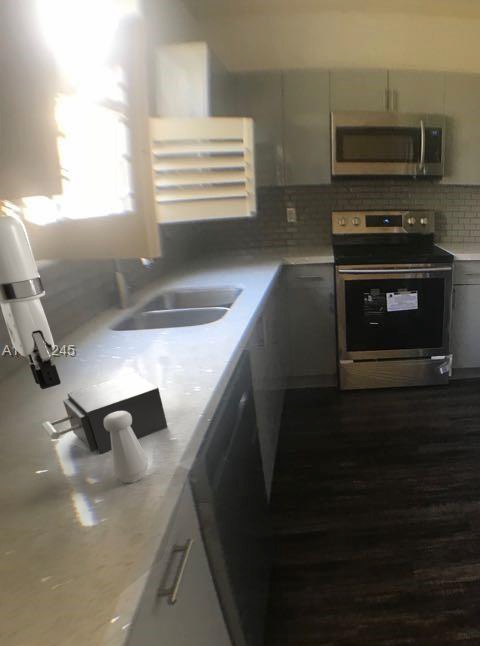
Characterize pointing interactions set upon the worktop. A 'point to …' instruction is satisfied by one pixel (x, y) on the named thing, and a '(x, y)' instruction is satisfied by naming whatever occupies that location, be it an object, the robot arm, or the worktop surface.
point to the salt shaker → (125, 448)
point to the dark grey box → (121, 406)
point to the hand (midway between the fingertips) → (48, 383)
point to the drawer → (73, 425)
